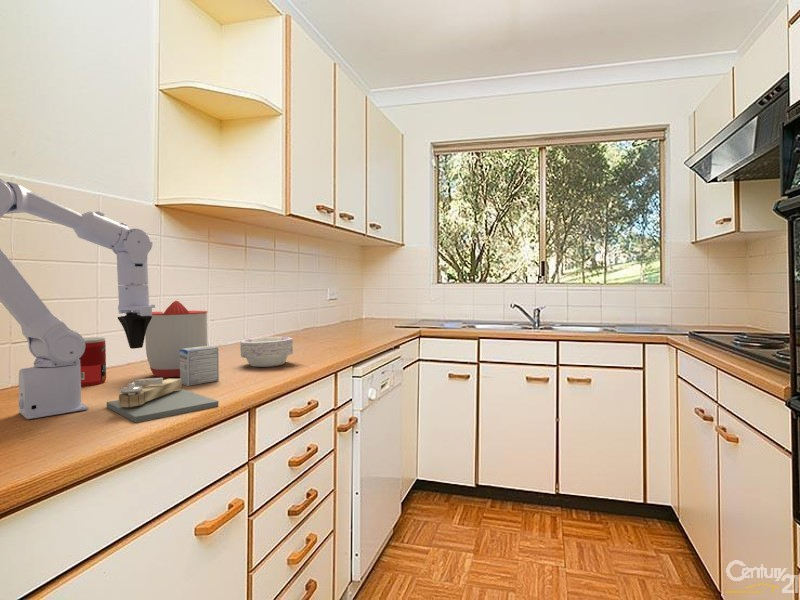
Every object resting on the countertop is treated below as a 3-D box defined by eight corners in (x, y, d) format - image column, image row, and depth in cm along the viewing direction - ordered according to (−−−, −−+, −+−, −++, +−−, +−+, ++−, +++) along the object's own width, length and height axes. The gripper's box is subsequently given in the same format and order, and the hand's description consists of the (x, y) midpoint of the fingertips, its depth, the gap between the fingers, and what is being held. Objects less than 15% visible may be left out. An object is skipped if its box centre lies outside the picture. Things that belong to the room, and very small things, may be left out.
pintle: (124, 415, 86) (124, 386, 86) (118, 412, 89) (117, 383, 88) (145, 411, 89) (145, 382, 89) (139, 408, 91) (138, 380, 91)
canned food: (110, 383, 116) (109, 338, 116) (71, 388, 110) (70, 341, 110) (101, 379, 122) (100, 336, 121) (63, 384, 116) (62, 339, 115)
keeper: (162, 403, 95) (161, 379, 95) (133, 406, 93) (132, 380, 93) (163, 401, 97) (162, 377, 96) (134, 404, 95) (134, 379, 95)
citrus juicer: (201, 366, 140) (200, 299, 139) (214, 375, 125) (213, 300, 124) (141, 372, 131) (140, 300, 130) (148, 382, 116) (146, 301, 116)
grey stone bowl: (237, 363, 145) (236, 337, 145) (286, 359, 152) (285, 335, 152) (245, 371, 132) (244, 342, 132) (298, 366, 139) (298, 339, 138)
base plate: (135, 422, 82) (135, 416, 82) (106, 407, 93) (106, 402, 93) (218, 406, 93) (218, 401, 93) (184, 393, 104) (184, 389, 104)
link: (134, 407, 87) (134, 396, 86) (114, 406, 87) (114, 396, 87) (184, 387, 103) (184, 378, 103) (166, 387, 103) (166, 378, 103)
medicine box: (210, 379, 121) (209, 345, 121) (219, 381, 118) (218, 346, 118) (179, 384, 115) (178, 348, 114) (188, 386, 112) (187, 350, 112)
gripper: (166, 284, 99) (168, 348, 100) (141, 284, 109) (144, 343, 110) (129, 285, 94) (132, 352, 95) (106, 285, 104) (109, 346, 105)
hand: (136, 347), depth 102 cm, fingers closed
